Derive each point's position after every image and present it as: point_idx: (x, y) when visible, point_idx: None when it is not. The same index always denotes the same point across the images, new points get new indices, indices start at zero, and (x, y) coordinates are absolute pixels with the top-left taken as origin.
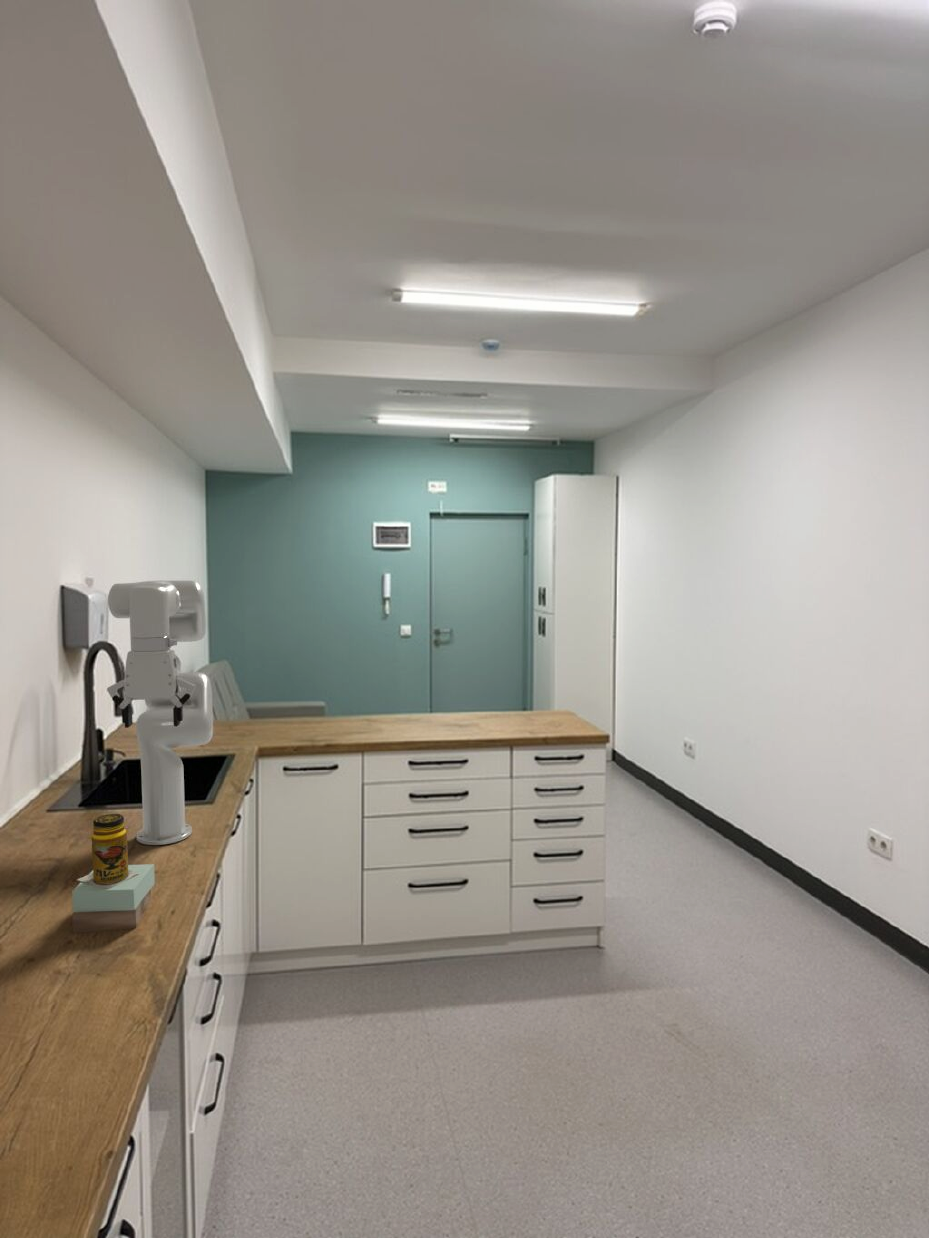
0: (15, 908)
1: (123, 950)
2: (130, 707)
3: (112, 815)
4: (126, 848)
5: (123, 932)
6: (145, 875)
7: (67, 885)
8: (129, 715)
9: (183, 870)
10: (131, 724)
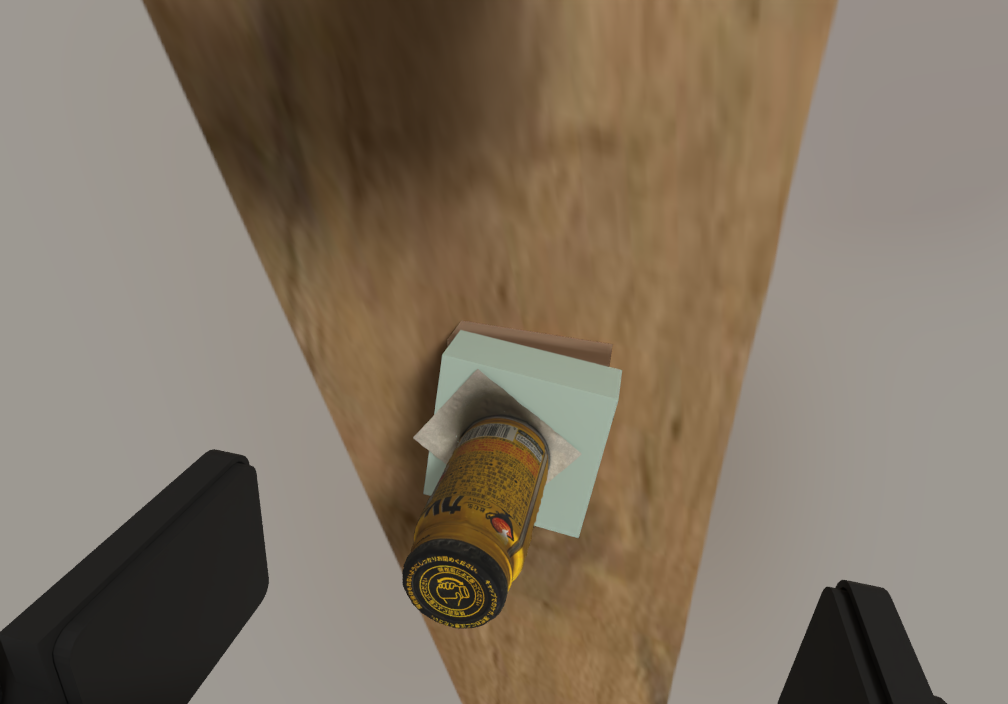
0: (282, 286)
1: (577, 548)
2: (75, 696)
3: (457, 566)
4: (534, 522)
5: None
6: (599, 464)
7: (357, 175)
8: (178, 661)
9: (705, 153)
10: (255, 501)
